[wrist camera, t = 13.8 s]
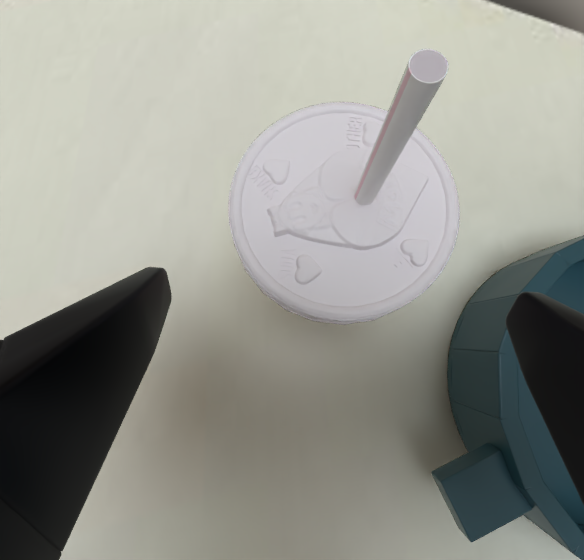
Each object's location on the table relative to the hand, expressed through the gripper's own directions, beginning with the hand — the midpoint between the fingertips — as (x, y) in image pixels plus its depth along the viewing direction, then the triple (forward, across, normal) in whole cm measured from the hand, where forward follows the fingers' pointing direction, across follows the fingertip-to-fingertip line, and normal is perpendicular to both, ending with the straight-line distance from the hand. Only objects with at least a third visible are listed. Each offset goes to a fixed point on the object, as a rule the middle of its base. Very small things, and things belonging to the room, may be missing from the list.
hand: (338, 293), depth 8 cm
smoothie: (+9, 0, +5) cm, 10 cm away
